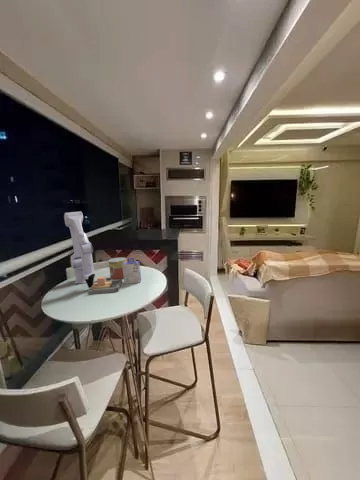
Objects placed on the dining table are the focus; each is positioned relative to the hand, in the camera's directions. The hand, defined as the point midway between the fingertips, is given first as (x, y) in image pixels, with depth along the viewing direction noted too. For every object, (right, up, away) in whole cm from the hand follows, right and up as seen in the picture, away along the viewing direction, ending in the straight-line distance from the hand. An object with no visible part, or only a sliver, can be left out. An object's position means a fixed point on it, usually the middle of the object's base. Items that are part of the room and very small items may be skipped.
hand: (90, 287), depth 148 cm
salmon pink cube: (+6, +2, 0) cm, 7 cm away
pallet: (+6, -1, +1) cm, 6 cm away
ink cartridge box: (+23, +2, +9) cm, 24 cm away
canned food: (+12, +3, +19) cm, 22 cm away
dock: (+9, 0, +1) cm, 9 cm away
